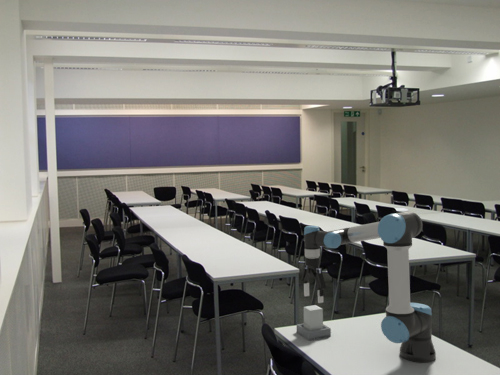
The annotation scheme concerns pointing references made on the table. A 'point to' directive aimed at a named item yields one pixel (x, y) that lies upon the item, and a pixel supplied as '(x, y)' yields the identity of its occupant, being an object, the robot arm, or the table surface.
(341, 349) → the table surface
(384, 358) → the table surface
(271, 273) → the table surface
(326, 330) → the box
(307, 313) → the supplement box
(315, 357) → the table surface
